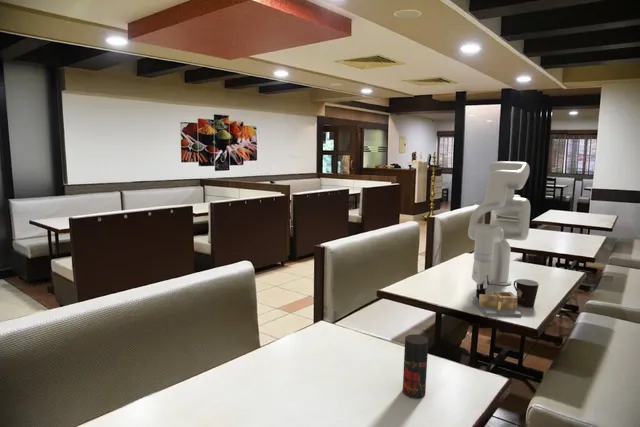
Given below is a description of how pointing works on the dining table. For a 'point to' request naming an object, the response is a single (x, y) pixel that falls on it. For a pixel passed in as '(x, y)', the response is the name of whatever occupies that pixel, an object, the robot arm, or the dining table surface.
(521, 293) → the coffee mug
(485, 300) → the tan wooden block
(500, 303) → the stop pin
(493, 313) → the board
